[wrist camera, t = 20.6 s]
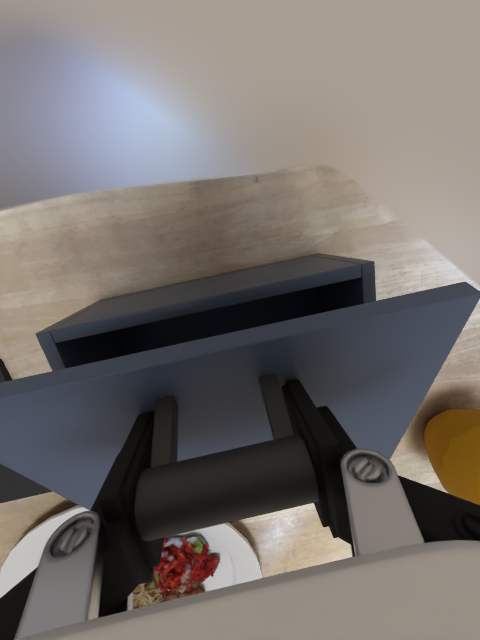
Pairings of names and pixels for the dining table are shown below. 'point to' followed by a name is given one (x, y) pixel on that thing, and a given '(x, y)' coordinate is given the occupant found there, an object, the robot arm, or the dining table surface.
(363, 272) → the chest
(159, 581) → the plated food
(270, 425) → the lid
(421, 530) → the robot arm
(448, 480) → the apple
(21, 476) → the mat
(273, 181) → the dining table surface
